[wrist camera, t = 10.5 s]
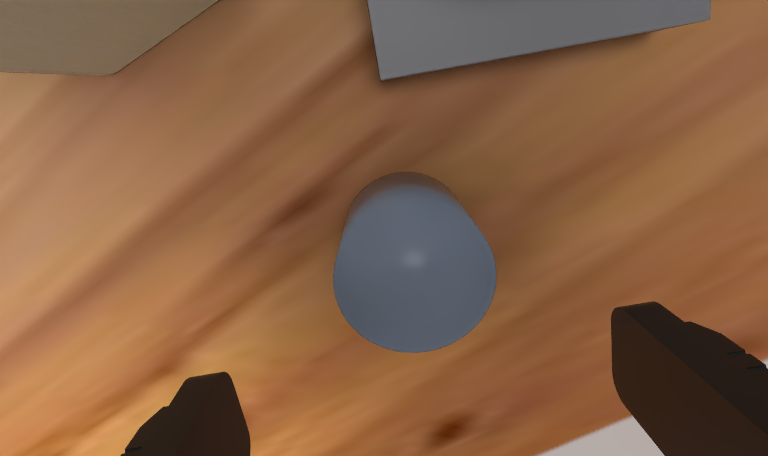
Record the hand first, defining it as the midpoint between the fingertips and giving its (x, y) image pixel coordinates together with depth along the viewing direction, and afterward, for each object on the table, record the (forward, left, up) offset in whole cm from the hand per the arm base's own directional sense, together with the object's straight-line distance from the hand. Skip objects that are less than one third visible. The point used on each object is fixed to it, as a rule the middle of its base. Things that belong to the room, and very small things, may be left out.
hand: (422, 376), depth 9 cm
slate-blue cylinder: (0, 0, -10) cm, 10 cm away
